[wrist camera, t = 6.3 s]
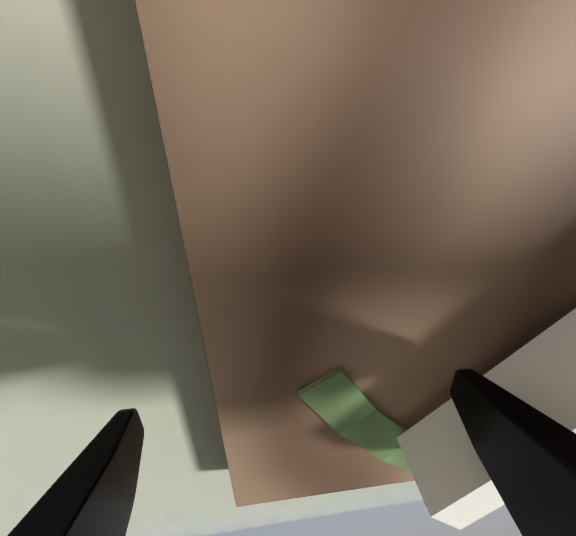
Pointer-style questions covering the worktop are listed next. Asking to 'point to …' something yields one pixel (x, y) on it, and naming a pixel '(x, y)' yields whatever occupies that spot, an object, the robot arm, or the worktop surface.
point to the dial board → (363, 212)
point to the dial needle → (454, 439)
